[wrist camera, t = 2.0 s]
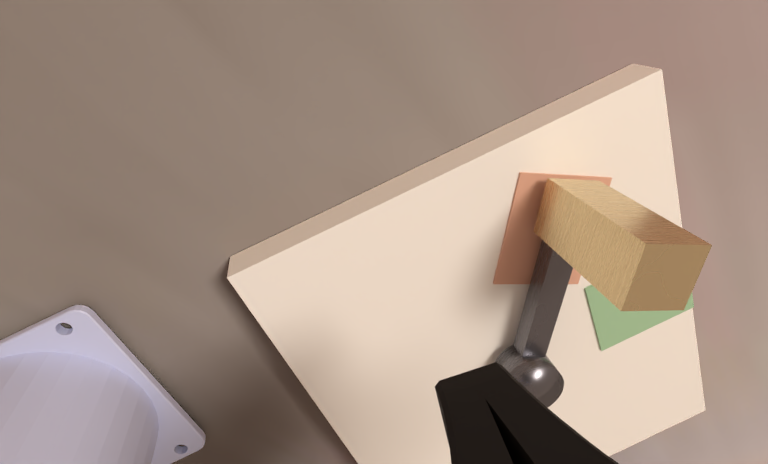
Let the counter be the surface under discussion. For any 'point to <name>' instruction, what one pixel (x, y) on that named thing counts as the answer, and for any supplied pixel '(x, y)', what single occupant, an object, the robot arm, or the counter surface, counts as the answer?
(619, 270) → the wooden handled crank
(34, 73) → the counter surface
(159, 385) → the robot arm
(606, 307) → the board
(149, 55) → the counter surface
